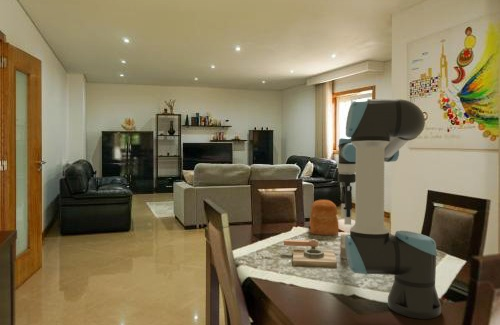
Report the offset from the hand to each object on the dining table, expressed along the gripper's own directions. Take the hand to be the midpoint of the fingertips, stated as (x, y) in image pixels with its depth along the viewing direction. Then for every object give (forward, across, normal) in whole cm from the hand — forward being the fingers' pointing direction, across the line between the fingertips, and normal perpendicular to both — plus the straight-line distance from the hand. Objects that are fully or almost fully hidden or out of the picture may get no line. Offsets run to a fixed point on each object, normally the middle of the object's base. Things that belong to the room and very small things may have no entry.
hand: (345, 220), depth 169 cm
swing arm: (+13, +2, +20) cm, 24 cm away
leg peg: (+16, 0, 0) cm, 16 cm away
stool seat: (+16, -5, +14) cm, 22 cm away
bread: (+17, +52, +6) cm, 55 cm away
